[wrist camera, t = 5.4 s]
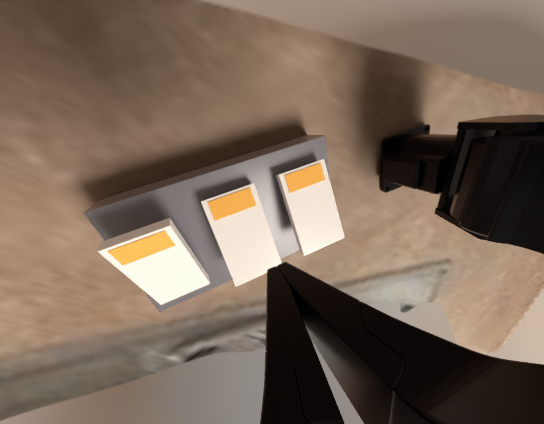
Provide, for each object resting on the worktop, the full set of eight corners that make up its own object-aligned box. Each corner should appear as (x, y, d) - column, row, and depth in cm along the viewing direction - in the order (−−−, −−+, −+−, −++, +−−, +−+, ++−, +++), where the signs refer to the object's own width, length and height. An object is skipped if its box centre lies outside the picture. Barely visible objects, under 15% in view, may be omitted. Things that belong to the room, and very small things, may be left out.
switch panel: (307, 134, 19) (331, 135, 16) (320, 222, 23) (341, 238, 20) (102, 198, 15) (76, 218, 12) (164, 287, 20) (157, 320, 16)
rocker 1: (169, 217, 13) (169, 226, 12) (208, 275, 17) (210, 284, 16) (101, 241, 12) (97, 252, 11) (161, 296, 16) (160, 305, 16)
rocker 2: (319, 160, 17) (324, 158, 16) (339, 235, 18) (345, 237, 17) (275, 175, 16) (279, 174, 15) (300, 252, 17) (304, 256, 16)
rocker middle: (252, 183, 15) (254, 183, 15) (279, 262, 17) (282, 266, 16) (201, 200, 15) (200, 201, 14) (234, 282, 16) (235, 287, 15)
